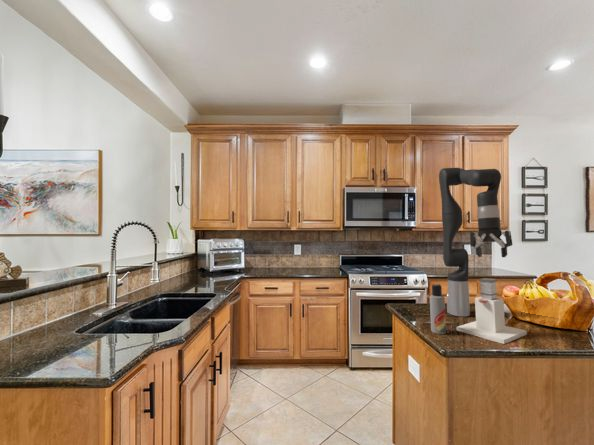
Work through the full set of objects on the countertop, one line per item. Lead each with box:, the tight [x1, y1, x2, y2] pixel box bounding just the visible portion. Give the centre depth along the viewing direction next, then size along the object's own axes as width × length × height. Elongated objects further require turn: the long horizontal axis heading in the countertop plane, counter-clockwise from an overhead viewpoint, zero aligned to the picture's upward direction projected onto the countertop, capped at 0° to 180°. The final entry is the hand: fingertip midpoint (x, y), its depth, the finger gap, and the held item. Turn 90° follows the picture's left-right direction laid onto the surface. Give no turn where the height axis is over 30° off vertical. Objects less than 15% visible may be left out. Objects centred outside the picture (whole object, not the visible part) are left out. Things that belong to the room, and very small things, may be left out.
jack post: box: [478, 277, 498, 300], centre depth 119 cm, size 5×5×20 cm
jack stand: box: [456, 296, 528, 345], centre depth 119 cm, size 18×18×14 cm
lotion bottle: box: [429, 283, 447, 335], centre depth 121 cm, size 6×6×20 cm
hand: (491, 257), depth 116 cm, fingers open, 8 cm apart
